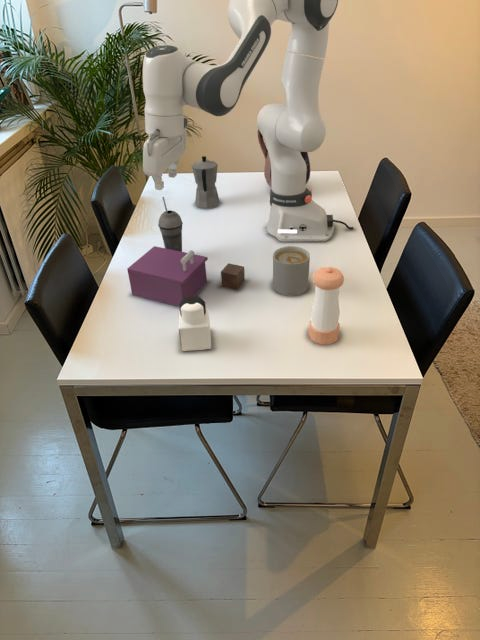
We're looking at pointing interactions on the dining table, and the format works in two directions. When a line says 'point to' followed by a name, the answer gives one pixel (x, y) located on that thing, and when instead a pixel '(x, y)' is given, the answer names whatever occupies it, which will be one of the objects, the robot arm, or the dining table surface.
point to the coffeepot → (206, 183)
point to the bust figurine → (194, 324)
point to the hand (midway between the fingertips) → (166, 182)
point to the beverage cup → (171, 229)
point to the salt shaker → (326, 306)
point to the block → (232, 276)
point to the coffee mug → (291, 270)
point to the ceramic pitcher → (268, 165)
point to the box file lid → (168, 264)
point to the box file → (167, 287)
